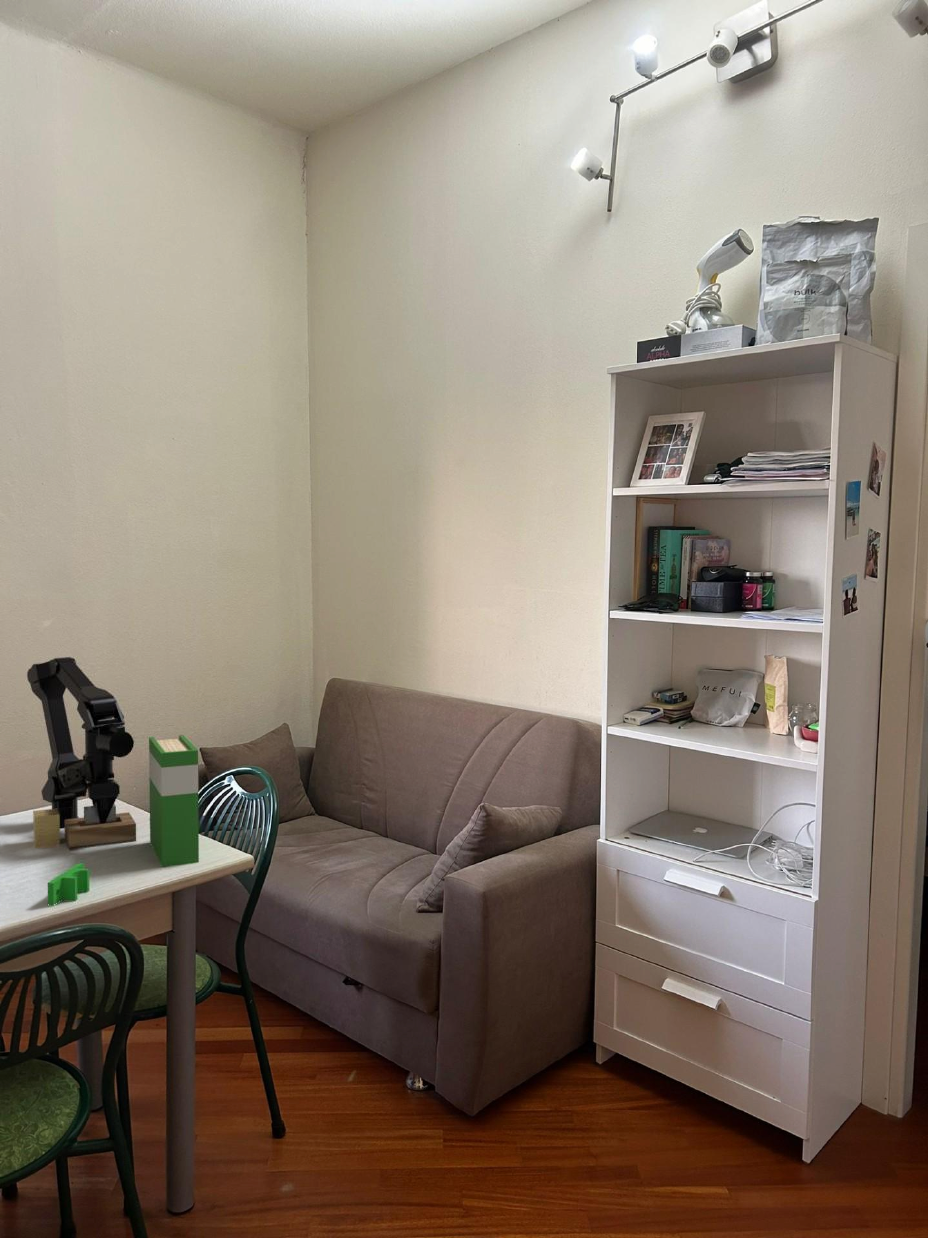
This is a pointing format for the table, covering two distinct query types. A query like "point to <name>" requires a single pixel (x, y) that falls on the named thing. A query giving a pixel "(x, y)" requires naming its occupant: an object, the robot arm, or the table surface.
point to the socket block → (100, 832)
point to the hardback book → (174, 801)
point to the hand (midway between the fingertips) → (99, 818)
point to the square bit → (46, 828)
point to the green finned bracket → (68, 884)
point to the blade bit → (93, 818)
